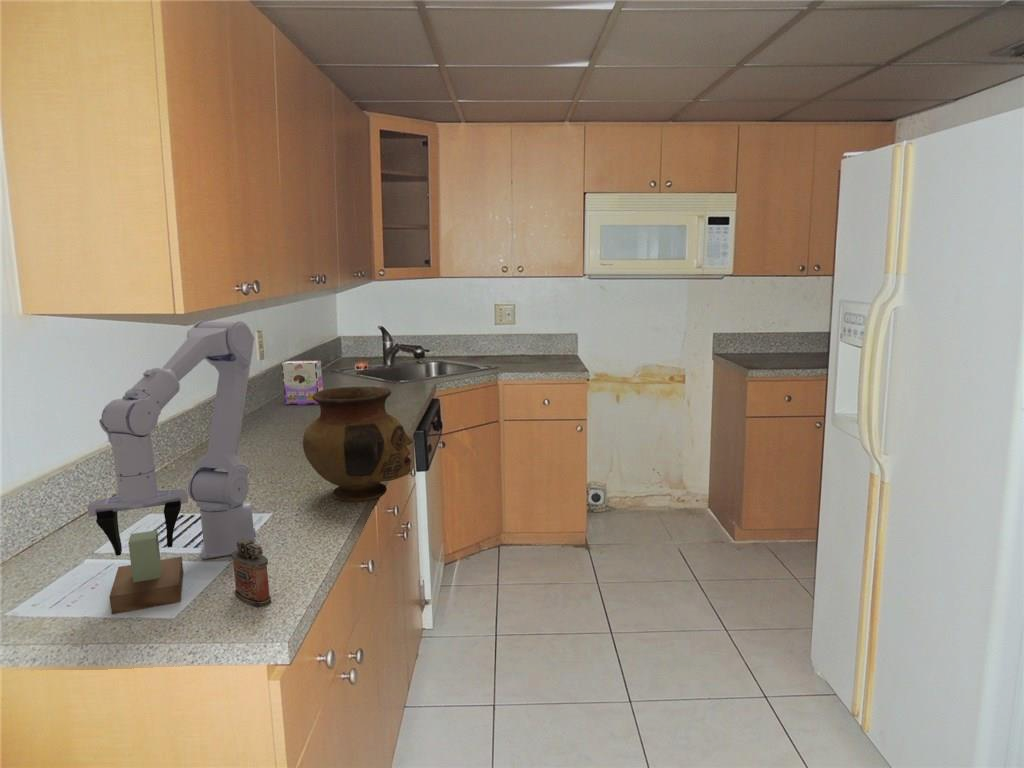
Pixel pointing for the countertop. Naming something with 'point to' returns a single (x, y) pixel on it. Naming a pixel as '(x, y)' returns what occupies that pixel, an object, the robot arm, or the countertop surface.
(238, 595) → the lighter
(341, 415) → the pot
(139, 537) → the block
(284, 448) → the countertop surface
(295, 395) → the candy box
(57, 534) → the countertop surface
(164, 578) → the plinth
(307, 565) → the countertop surface
